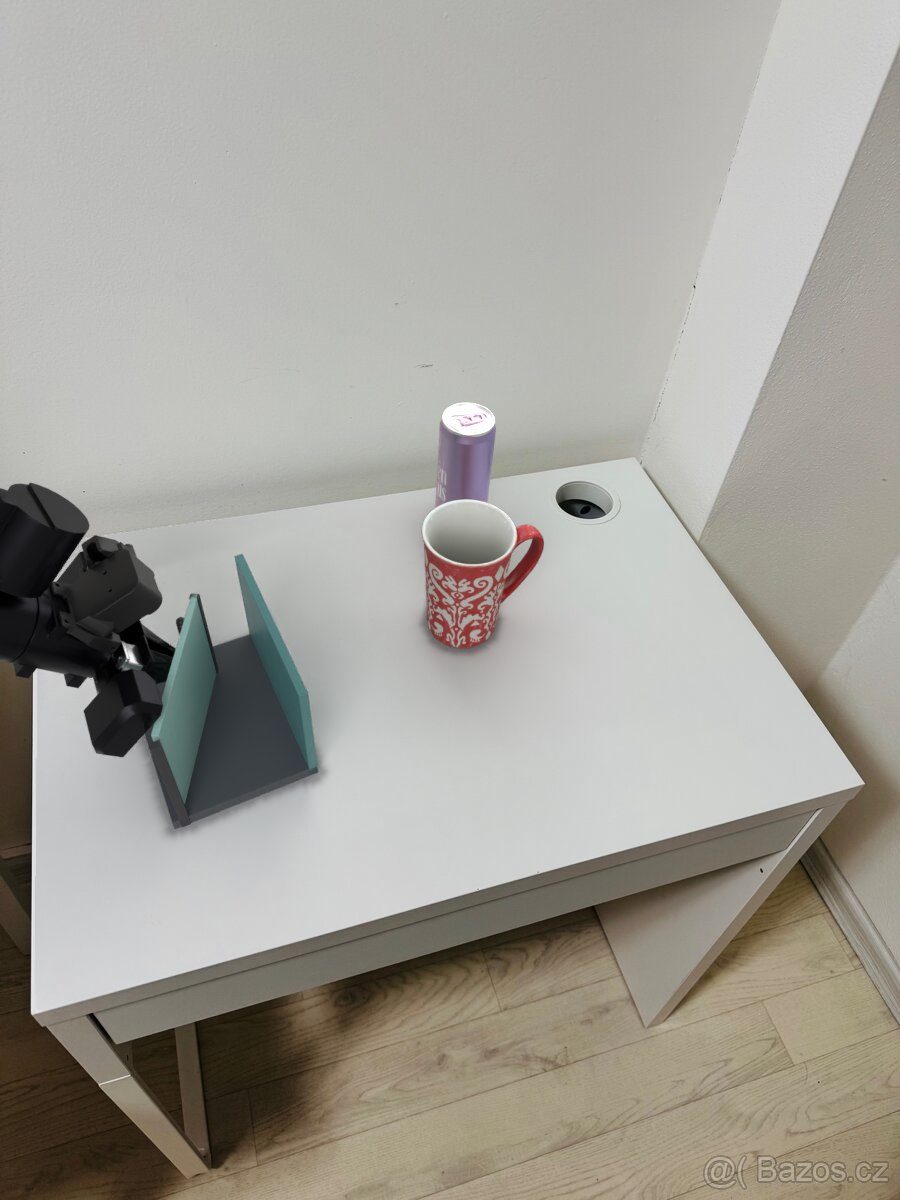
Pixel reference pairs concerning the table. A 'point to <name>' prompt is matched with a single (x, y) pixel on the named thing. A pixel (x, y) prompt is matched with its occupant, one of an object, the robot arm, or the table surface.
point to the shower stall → (245, 721)
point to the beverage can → (465, 453)
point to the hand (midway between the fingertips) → (188, 667)
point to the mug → (472, 568)
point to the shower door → (187, 695)
